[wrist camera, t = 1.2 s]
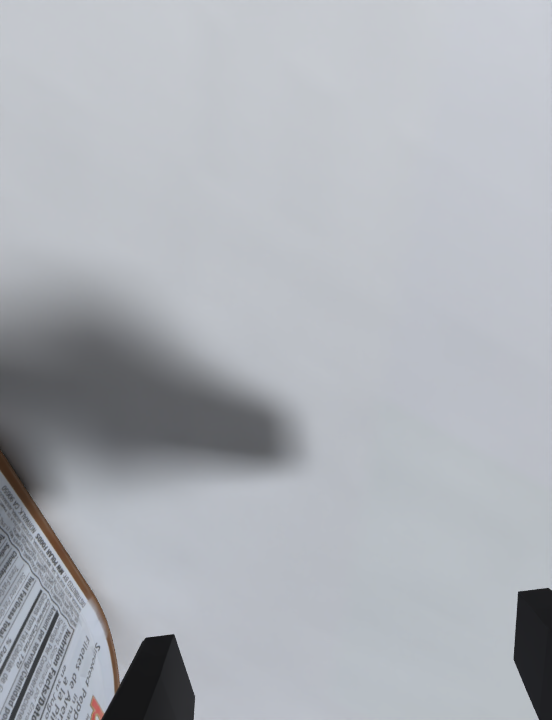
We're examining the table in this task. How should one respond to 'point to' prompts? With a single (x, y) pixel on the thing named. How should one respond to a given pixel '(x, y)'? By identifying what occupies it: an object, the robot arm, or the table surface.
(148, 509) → the table surface
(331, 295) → the table surface
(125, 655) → the table surface
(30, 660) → the tin
